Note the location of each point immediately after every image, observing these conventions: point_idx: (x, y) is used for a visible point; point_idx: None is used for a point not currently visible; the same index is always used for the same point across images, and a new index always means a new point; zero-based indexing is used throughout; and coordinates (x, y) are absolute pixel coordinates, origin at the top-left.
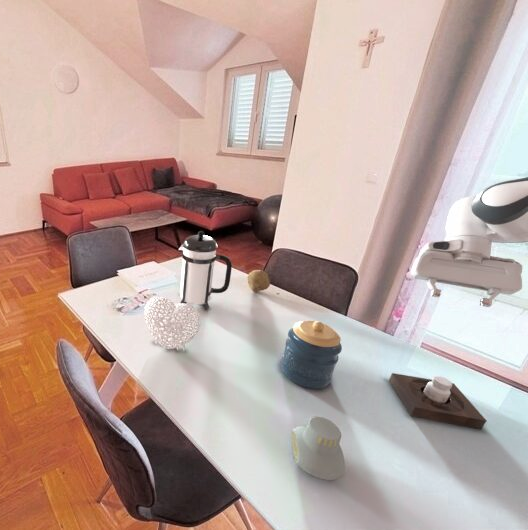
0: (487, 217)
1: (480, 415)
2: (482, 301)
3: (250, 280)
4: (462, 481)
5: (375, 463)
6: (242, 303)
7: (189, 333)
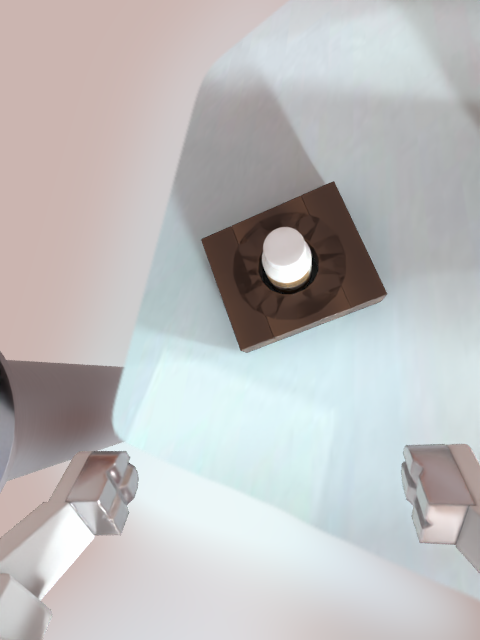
0: None
1: (208, 249)
2: (116, 494)
3: None
4: (262, 89)
5: (391, 22)
6: None
7: None
